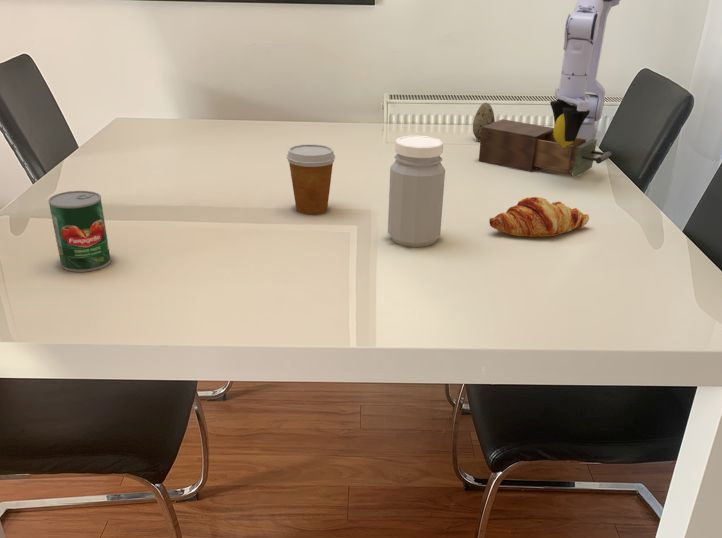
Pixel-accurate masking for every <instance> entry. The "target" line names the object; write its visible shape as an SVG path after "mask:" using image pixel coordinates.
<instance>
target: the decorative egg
mask: <svg viewBox="0 0 722 538" xmlns="http://www.w3.org/2000/svg"><path fill="white" fill-rule="evenodd" d="M495 119H496V118H495V113H494V110H493V107H492V105H491V104H490V103H488V102H483V103H482V104H481V105H480V106H479V107H478V109H477V111H476V113H475V116H474V118H473V122H472V133H473V135H474V137H475V138H476V140H478V141H479V142H481V131H482V127H483V126H486V125H488V124H491V123H494V122H496V120H495Z"/></svg>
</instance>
